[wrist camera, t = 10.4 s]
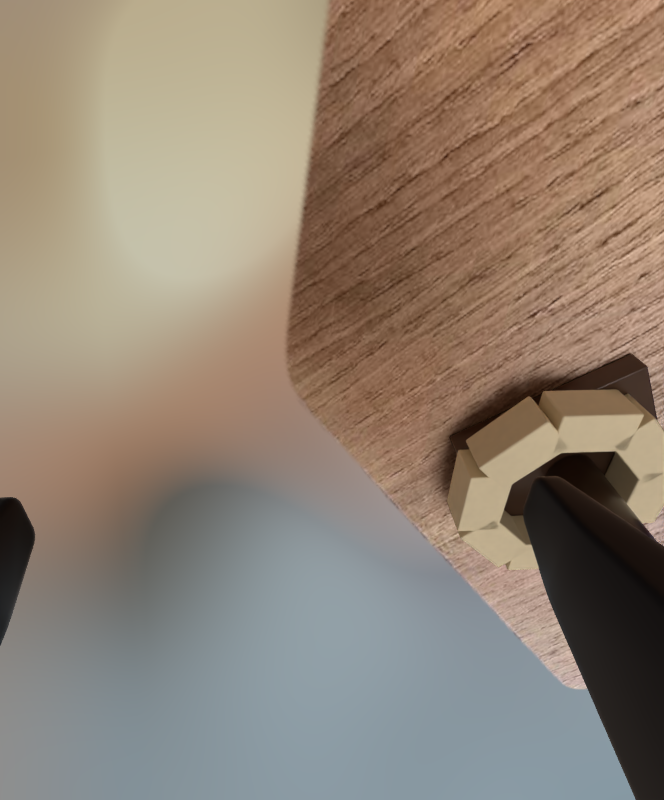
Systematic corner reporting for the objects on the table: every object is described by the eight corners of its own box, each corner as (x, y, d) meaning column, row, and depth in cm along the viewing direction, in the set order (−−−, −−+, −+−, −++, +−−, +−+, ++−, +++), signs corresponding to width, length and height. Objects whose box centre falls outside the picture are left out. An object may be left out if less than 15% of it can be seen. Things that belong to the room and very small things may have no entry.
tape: (410, 477, 23) (419, 508, 22) (595, 347, 20) (623, 371, 18) (515, 562, 28) (529, 592, 26) (681, 468, 24) (710, 496, 23)
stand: (448, 435, 23) (493, 534, 18) (631, 352, 21) (738, 437, 16) (502, 536, 28) (549, 637, 23) (656, 475, 26) (745, 571, 21)
